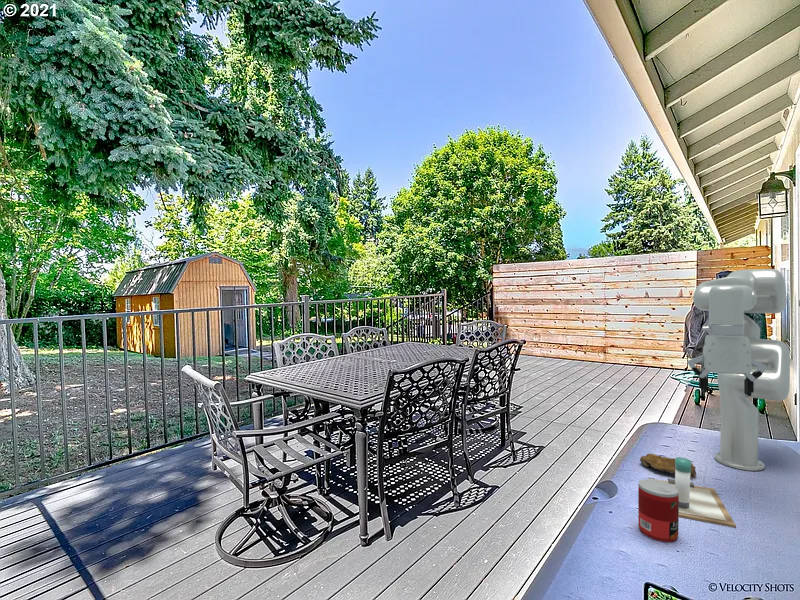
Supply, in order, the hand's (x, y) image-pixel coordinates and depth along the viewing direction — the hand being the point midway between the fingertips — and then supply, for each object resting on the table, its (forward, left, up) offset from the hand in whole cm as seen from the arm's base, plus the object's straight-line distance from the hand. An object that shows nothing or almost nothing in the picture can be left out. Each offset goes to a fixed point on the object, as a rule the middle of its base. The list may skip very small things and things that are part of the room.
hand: (725, 393), depth 113 cm
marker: (+13, -12, -28) cm, 33 cm away
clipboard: (+8, -10, -28) cm, 31 cm away
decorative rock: (-12, -12, -29) cm, 34 cm away
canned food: (+28, -19, -28) cm, 44 cm away
